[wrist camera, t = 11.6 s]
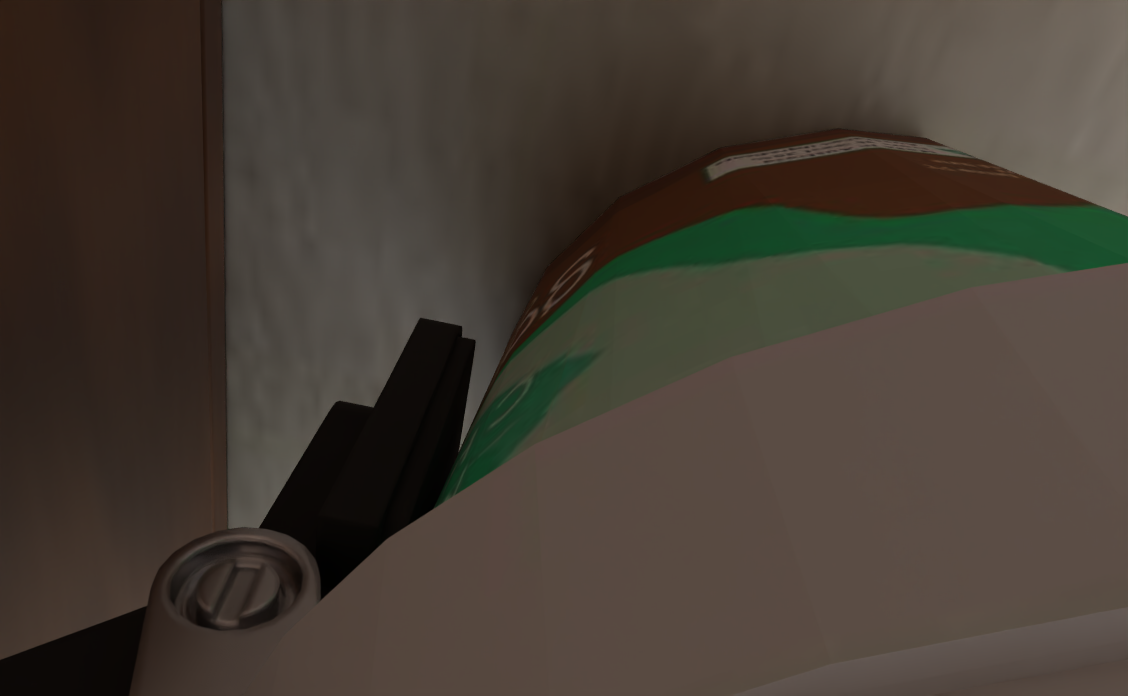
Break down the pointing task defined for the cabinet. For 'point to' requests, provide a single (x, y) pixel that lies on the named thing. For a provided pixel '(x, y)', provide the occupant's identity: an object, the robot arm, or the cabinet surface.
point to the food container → (779, 452)
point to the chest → (107, 304)
